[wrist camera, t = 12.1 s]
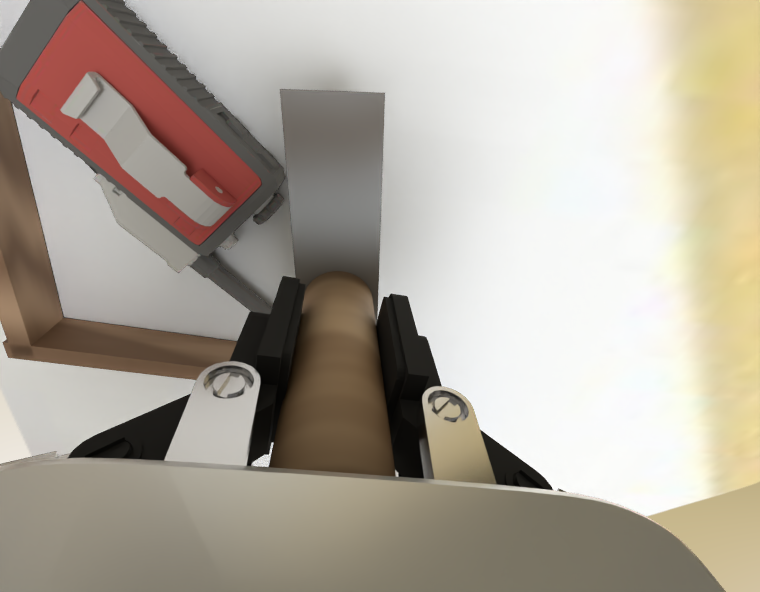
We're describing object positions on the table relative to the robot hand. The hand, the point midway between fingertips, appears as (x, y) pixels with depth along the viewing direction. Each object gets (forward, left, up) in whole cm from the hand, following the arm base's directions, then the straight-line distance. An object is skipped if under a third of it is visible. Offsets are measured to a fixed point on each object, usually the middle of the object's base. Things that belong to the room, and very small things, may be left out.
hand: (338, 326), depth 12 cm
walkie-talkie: (-1, +8, -12) cm, 15 cm away
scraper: (-1, 0, -7) cm, 7 cm away
